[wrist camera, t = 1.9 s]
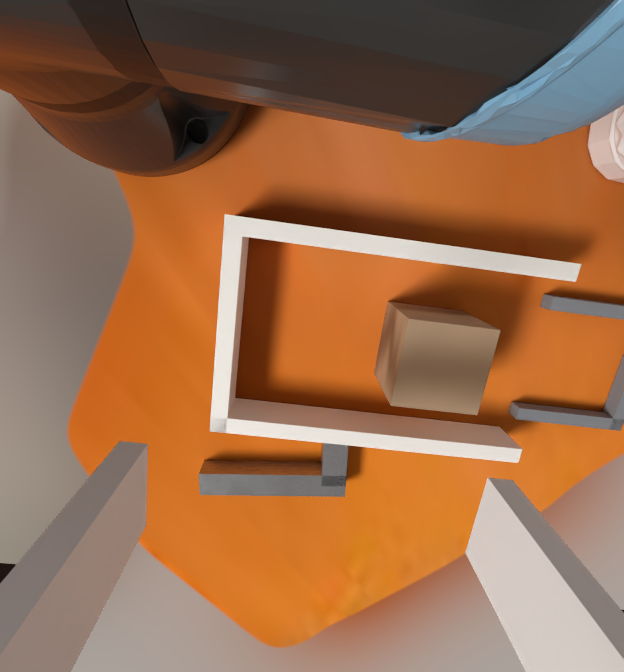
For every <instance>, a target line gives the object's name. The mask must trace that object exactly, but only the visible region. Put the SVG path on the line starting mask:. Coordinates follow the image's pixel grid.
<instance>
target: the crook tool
mask: <svg viewBox="0 0 624 672" xmlns="http://www.w3.org/2000/svg"><path fill="white" fill-rule="evenodd" d="M347 458H348V445H339V444H329V443H322V447H321V462H298V461H233V460H204V463H203V465H202V468H201V470H200V473H199V485H200V495H254V496H338V497H345V486H346V472H347Z"/></svg>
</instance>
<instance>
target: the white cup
mask: <svg viewBox="0 0 624 672" xmlns="http://www.w3.org/2000/svg"><path fill="white" fill-rule="evenodd" d="M588 149H589V152H590V156H591V159H592V163H593V166H594V167H595V168H596V169H597V170H598V171H599V172H600V173H601V174H602V175H603V176H604V177H605V178H606V179H608V180H612V181H616V182H621V183H624V105H623V106H621V107H620V108H618V109H616V110H615V111H613V112H611V113H609V114H608V115H606V116H604V117H603V118H601V119H599V120H597V121H595V122H593V123H591V125H590V132H589V138H588Z"/></svg>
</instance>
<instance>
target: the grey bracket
mask: <svg viewBox="0 0 624 672" xmlns="http://www.w3.org/2000/svg"><path fill="white" fill-rule="evenodd" d="M540 307H542V308H545V309H548V310H554V311H562V312H570V313H577V314H585V315H593V316H600V317H608V318H616V319H623V320H624V305H621V304H614V303H606V302H599V301H591V300H584V299H576V298H569V297H561V296H554V295H546V294H544V295H543V299H542V302H541V305H540ZM509 413H510V414H511V415H512V416H513V417H514V418H515V419H519V420H528V421H537V422H546V423H555V424H564V425H573V426H582V427H591V428H600V429H609V430H618V431H621V428H622V425H623V423H624V355H623V357H622V360H621V363H620V365H619V368H618V371H617V374H616V376H615V379H614V382H613V384H612V387H611V390H610V392H609V395H608V398H607V401H606V403H605V406H604V409H603V411H602V412H598V411H589V410H580V409H572V408H563V407H554V406H545V405H536V404H528V403H519V402H511V406H510V409H509Z"/></svg>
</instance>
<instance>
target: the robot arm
mask: <svg viewBox="0 0 624 672" xmlns="http://www.w3.org/2000/svg"><path fill="white" fill-rule="evenodd" d="M0 89H1V90H3V91H6V92H8V93H11V94H12V95H13V96H14V97H15V98H16V99H17V100H18V101H19V102H20V103H21V104H22V106H23V107H24V108H25V109H26V110H27V111H28V112H29V113H30V115H31V116H32V117H33V118H34V119H35V120H36V121H37V123H38V124H39V125H40V126H41V127H42V128H43V129H44V130H45V131H46V132H47V133H48V134H49V135H51V136H52V137H53V138H54V139H56V140H57V141H58V142H59V143H60V144H62V145H63V146H65V147H66V148H68V149H69V150H71V151H72V152H74V153H76V154H77V155H79V156H81V157H82V158H84V159H86V160H88V161H90V162H93V163H95V164H97V165H100V166H103V167H106V168H109V169H112V170H115V171H119V172H122V173H126V174H130V175H136V176H145V177H157V176H167V175H173V174H177V173H180V172H184V171H187V170H189V169H192V168H194V167H196V166H198V165H200V164H201V163H203V162H205V161H206V160H208V159H209V158H210V157H212V156H213V155H214V154H216V153H217V152H218V151H219V150H220V149H221V148H222V147H223V146H224V145H225V144H226V143H227V142H228V140H229V139H230V138H231V137H232V135H233V134H234V133H235V131H236V130H237V128H238V126H239V125H240V123H241V121H242V119H243V117H244V115H245V113H246V110H247V108H248V105H249V104H253V105H258V106H264V107H269V108H274V109H280V110H285V111H290V112H296V113H301V114H306V115H312V116H317V117H322V118H328V119H333V120H339V121H344V122H349V123H355V124H360V125H365V126H371V127H376V128H381V129H387V130H392V131H397V132H400V133H401V134H402V135H403V136H404V137H405V138H406V139H411V140H416V141H420V142H434V141H438V140H443V139H447V138H452V139H460V140H468V141H477V142H484V143H492V144H499V145H513V146H516V145H525V144H534V143H538V142H542V141H544V140H546V139H548V138H550V137H552V136H555V135H558V134H562V133H567V132H571V131H574V130H576V129H578V128H580V127H584V126H587V125H589V124H591V123H593V122H595V121H597V120H599V119H601V118H603V117H604V116H606V115H608V114H609V113H611V112H613V111H615V110H616V109H618V108H620V107H621V106H623V105H624V0H0ZM147 456H148V444H142V443H132V442H122V441H119V443H118V444H117V445H116V446H115V447H114V449H113V450H112V451H111V452H110V453H109V455H108V456H107V457H106V458H105V459H104V461H103V462H102V463H101V464H100V465H99V467H98V468H97V469H96V470H95V471H94V472H93V474H92V475H91V476H90V477H89V478H88V480H87V481H86V482H85V483H84V485H83V486H82V487H81V488H80V489H79V490H78V492H77V493H76V494H75V495H74V497H73V498H72V499H71V500H70V501H69V503H67V505H66V506H65V507H64V508H63V509H62V511H61V512H60V513H59V514H58V516H57V517H56V518H55V519H54V520H53V521H52V523H51V524H50V525H49V526H48V528H47V529H46V530H45V531H44V532H43V533H42V535H41V536H40V537H39V538H38V539H37V541H36V542H35V543H34V544H33V545H32V546H31V548H30V549H29V550H28V551H27V552H26V554H25V555H24V556H23V557H22V558H21V560H20V561H19V562H18V563H17V564H16V565H15V564H4V563H0V672H71V670H72V668H73V666H74V664H75V662H76V660H77V658H78V656H79V655H80V653H81V651H82V649H83V647H84V645H85V643H86V641H87V639H88V637H89V635H90V633H91V631H92V629H93V627H94V625H95V624H96V622H97V620H98V617H99V616H100V614H101V612H102V610H103V608H104V606H105V604H106V602H107V600H108V598H109V596H110V594H111V592H112V591H113V588H114V587H115V584H116V583H117V581H118V579H119V577H120V575H121V573H122V571H123V569H124V567H125V565H126V563H127V561H128V559H129V557H130V556H131V554H132V552H133V550H134V548H135V546H136V544H137V542H138V540H139V538H140V536H141V534H142V532H143V530H144V528H145V526H146V504H147ZM466 555H467V557H468V559H469V560H470V562H471V564H472V566H473V568H474V570H475V572H476V574H477V576H478V578H479V580H480V582H481V584H482V586H483V588H484V590H485V592H486V594H487V596H488V598H489V600H490V602H491V604H492V606H493V608H494V610H495V612H496V613H497V615H498V617H499V620H500V622H501V623H502V625H503V627H504V629H505V631H506V633H507V635H508V637H509V639H510V641H511V643H512V645H513V647H514V649H515V651H516V653H517V655H518V657H519V659H520V661H521V663H522V665H523V667H524V669H525V671H526V672H624V610H621V609H620V608H619V607H618V605H617V604H616V603H615V602H614V601H613V600H612V598H611V597H610V596H609V595H608V594H607V592H606V591H605V590H604V589H603V588H602V586H601V585H600V584H599V583H598V582H597V580H596V579H595V578H594V577H593V576H592V575H591V573H590V572H589V571H588V570H587V568H586V567H585V566H584V565H583V564H582V562H581V561H580V560H579V559H578V558H577V557H576V555H575V554H574V553H573V552H572V551H571V549H570V548H569V547H568V546H567V545H566V544H565V542H564V541H563V540H562V539H561V538H560V536H559V535H558V534H557V533H556V531H555V530H554V529H553V528H552V527H551V526H550V524H549V523H548V522H547V521H546V520H545V518H544V517H543V516H542V515H541V514H540V512H539V511H538V510H537V509H536V508H535V506H534V505H533V504H532V503H531V502H530V500H529V499H528V498H527V497H526V496H525V494H524V493H523V492H522V491H521V490H520V488H519V487H518V486H517V485H516V484H515V483H514V481H513V480H505V479H495V478H488V479H487V482H486V486H485V489H484V492H483V496H482V499H481V502H480V506H479V509H478V512H477V516H476V519H475V522H474V526H473V529H472V532H471V536H470V539H469V543H468V546H467V549H466Z"/></svg>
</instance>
